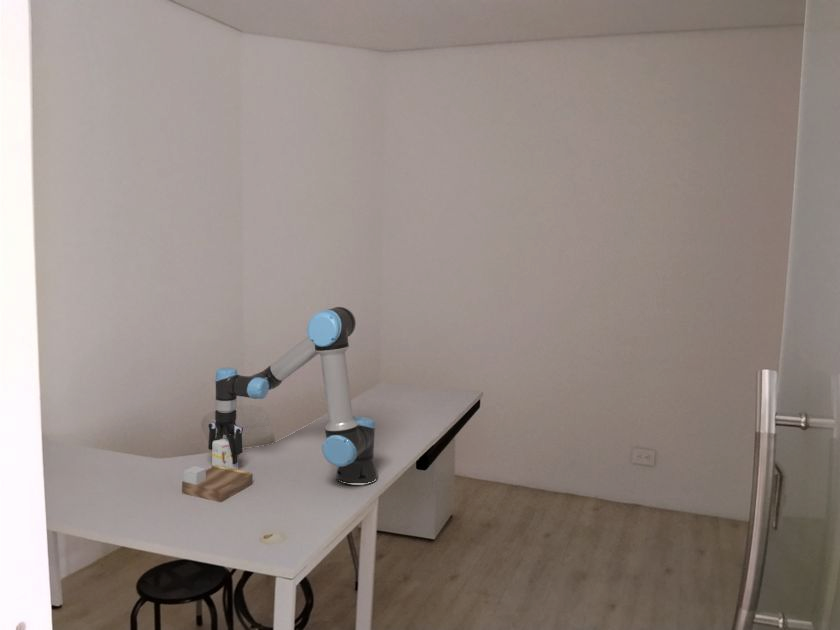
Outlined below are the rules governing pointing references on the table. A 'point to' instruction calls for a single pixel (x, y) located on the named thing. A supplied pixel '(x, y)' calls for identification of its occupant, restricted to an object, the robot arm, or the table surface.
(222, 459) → the ink box
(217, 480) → the dock
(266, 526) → the table surface
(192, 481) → the light grey block
